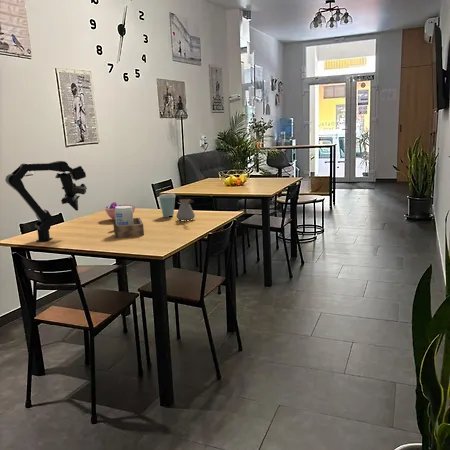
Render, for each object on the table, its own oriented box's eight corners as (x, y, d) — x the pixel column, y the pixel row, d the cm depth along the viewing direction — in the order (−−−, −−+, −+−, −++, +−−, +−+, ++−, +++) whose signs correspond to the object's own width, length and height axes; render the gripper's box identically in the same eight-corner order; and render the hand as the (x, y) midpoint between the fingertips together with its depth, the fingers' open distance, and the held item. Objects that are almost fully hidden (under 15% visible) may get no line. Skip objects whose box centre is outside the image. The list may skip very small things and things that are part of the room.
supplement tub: (116, 235, 244) (114, 208, 241) (116, 231, 253) (114, 206, 250) (134, 234, 246) (132, 207, 243) (134, 230, 255) (132, 204, 252)
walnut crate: (115, 237, 239) (114, 225, 237) (113, 229, 258) (112, 218, 257) (144, 235, 243) (143, 222, 241) (140, 227, 262) (139, 216, 261)
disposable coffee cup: (157, 217, 290) (156, 194, 286) (164, 214, 300) (163, 192, 297) (172, 218, 287) (171, 194, 283) (179, 215, 297) (177, 192, 293)
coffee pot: (174, 219, 283) (173, 195, 280) (192, 217, 287) (190, 194, 283) (183, 225, 263) (182, 200, 260) (202, 223, 267) (201, 198, 264)
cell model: (130, 222, 279) (128, 204, 276) (100, 222, 282) (98, 204, 280) (140, 217, 295) (138, 200, 293) (111, 217, 299) (110, 200, 296)
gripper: (76, 184, 233) (86, 212, 238) (86, 176, 251) (95, 202, 256) (56, 189, 234) (66, 217, 239) (67, 180, 251) (76, 206, 257)
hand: (77, 210), depth 248 cm, fingers closed
